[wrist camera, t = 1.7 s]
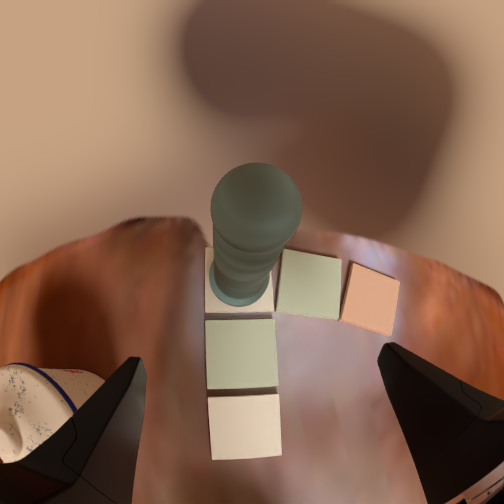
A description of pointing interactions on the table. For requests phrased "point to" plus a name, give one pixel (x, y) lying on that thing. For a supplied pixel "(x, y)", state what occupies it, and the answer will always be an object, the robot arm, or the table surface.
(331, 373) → the table surface
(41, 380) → the teacup with lid
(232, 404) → the track
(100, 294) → the table surface
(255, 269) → the pawn
